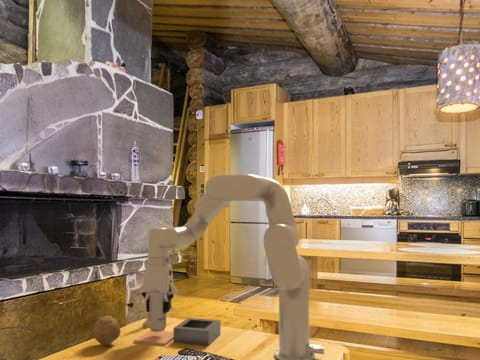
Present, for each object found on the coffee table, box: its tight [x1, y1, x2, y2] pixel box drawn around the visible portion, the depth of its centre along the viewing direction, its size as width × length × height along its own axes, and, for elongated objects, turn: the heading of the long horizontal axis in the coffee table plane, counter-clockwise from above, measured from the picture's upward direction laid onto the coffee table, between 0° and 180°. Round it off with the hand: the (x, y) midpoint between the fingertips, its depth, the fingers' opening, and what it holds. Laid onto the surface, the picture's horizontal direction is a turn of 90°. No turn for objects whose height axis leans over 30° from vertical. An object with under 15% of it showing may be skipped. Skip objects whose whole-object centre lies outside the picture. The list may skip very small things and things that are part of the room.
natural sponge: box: [92, 315, 121, 347], centre depth 133 cm, size 9×9×10 cm
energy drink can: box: [148, 289, 167, 332], centre depth 140 cm, size 6×6×15 cm
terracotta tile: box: [133, 329, 174, 346], centre depth 140 cm, size 12×12×1 cm
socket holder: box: [172, 317, 221, 347], centre depth 140 cm, size 13×13×5 cm
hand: (157, 311), depth 140 cm, fingers closed on energy drink can, 6 cm apart
